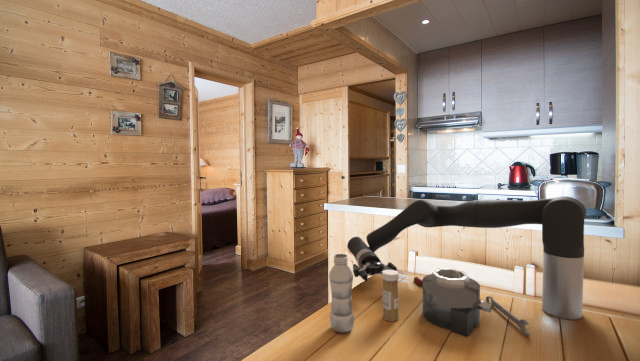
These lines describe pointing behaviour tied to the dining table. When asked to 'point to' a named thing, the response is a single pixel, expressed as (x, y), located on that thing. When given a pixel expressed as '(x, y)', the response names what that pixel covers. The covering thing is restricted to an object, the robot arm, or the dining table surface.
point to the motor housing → (453, 301)
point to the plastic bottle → (341, 295)
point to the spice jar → (390, 295)
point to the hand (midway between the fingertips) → (379, 277)
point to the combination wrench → (510, 316)
